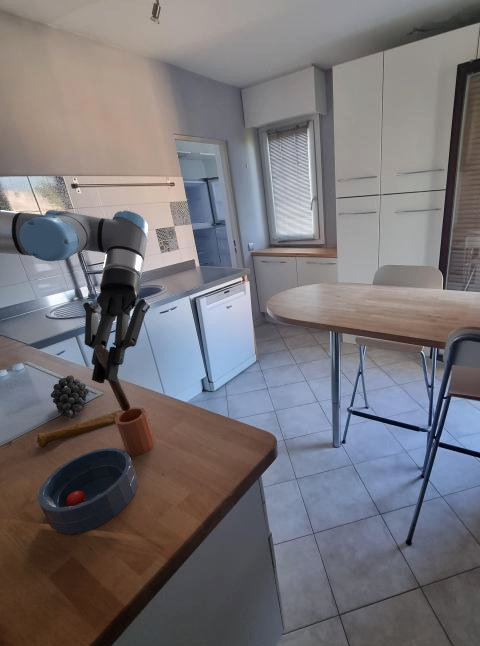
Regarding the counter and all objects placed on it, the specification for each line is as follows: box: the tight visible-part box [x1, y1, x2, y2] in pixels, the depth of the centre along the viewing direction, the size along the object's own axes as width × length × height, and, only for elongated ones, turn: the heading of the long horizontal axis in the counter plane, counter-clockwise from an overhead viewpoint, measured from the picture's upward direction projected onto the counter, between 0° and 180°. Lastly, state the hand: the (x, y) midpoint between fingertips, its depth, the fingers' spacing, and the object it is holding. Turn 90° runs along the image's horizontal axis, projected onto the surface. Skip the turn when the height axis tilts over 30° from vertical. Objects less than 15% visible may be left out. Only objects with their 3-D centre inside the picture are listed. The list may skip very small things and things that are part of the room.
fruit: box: [50, 374, 90, 419], centre depth 90 cm, size 9×8×15 cm
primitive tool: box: [36, 409, 123, 449], centre depth 82 cm, size 19×6×4 cm, turn 127°
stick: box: [93, 344, 131, 411], centre depth 67 cm, size 2×2×17 cm
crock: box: [114, 406, 155, 456], centre depth 74 cm, size 6×6×9 cm
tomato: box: [66, 491, 86, 507], centre depth 61 cm, size 3×3×3 cm
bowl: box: [37, 447, 139, 535], centre depth 62 cm, size 15×15×6 cm
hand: (104, 381), depth 64 cm, fingers closed on stick, 2 cm apart
